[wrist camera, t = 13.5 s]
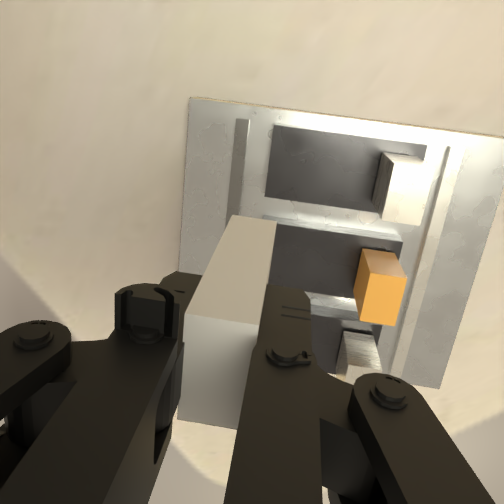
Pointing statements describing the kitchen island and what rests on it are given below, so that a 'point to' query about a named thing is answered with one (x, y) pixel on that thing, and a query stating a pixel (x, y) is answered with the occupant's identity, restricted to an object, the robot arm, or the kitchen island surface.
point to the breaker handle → (379, 287)
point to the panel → (349, 220)
